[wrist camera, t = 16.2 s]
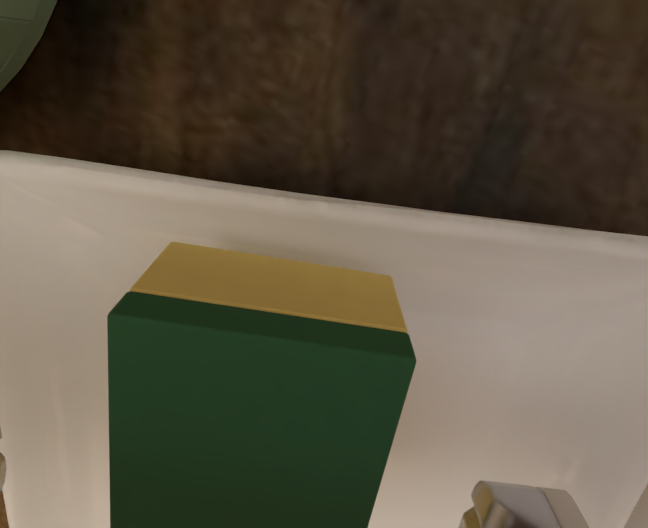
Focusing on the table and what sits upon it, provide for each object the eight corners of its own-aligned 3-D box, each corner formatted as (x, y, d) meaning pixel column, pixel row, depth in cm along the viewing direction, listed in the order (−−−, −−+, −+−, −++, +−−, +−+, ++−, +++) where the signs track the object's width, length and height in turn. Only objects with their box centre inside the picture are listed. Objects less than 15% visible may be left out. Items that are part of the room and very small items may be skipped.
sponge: (170, 239, 9) (104, 314, 7) (392, 274, 10) (418, 360, 7) (159, 492, 12) (110, 620, 9) (332, 514, 12) (334, 644, 10)
